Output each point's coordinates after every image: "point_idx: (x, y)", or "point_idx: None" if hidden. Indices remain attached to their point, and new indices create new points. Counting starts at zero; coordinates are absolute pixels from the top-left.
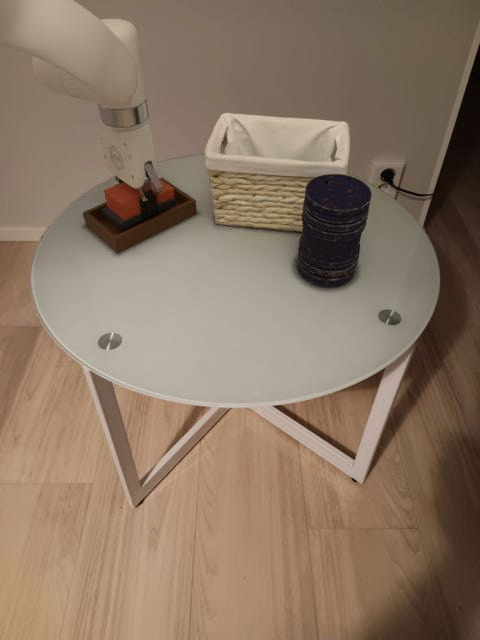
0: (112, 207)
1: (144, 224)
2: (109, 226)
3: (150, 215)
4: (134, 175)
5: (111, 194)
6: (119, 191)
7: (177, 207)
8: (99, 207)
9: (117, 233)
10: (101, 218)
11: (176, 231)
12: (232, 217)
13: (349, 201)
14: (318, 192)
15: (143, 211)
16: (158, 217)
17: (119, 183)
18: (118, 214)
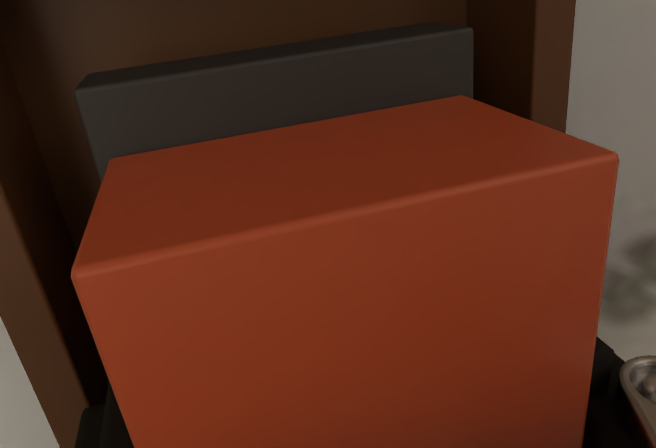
0: (361, 129)
1: (2, 312)
2: (338, 30)
3: (85, 410)
4: None
5: (440, 218)
6: (430, 345)
7: None
8: (536, 30)
9: (203, 47)
10: (470, 17)
11: (40, 434)
12: None
13: None
14: None
15: (112, 394)
16: (69, 443)
17: (610, 369)
18: (236, 141)
